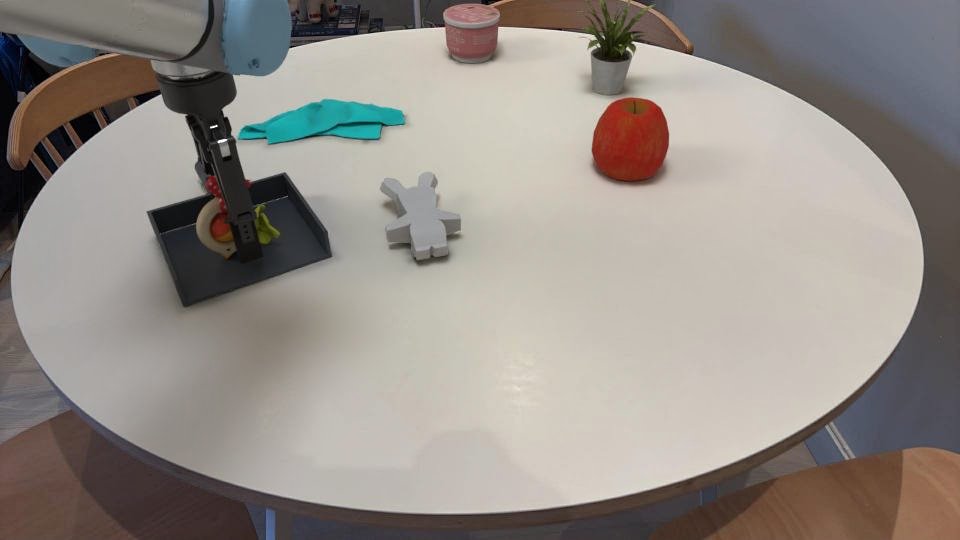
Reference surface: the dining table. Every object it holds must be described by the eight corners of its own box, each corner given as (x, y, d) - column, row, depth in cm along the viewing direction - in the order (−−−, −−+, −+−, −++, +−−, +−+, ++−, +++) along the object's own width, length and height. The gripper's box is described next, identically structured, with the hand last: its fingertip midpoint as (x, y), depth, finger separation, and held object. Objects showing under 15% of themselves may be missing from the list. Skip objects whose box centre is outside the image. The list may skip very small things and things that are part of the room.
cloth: (406, 100, 119) (405, 88, 118) (404, 140, 109) (403, 127, 107) (252, 104, 118) (249, 92, 117) (235, 145, 108) (231, 132, 106)
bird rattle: (245, 280, 86) (296, 227, 88) (189, 229, 77) (248, 171, 79) (218, 259, 89) (268, 208, 91) (162, 207, 80) (218, 152, 82)
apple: (643, 144, 108) (653, 79, 101) (677, 180, 100) (692, 113, 93) (578, 154, 105) (585, 89, 99) (608, 193, 97) (618, 124, 91)
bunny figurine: (392, 245, 82) (371, 167, 92) (394, 275, 85) (374, 197, 95) (470, 232, 84) (441, 157, 94) (469, 262, 87) (441, 187, 97)
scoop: (332, 256, 87) (327, 230, 84) (183, 307, 80) (173, 280, 77) (266, 160, 104) (260, 136, 102) (139, 195, 97) (130, 170, 95)
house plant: (545, 94, 121) (552, -1, 110) (577, 65, 130) (585, -26, 120) (624, 113, 116) (638, 14, 105) (651, 81, 125) (666, -12, 114)
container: (504, 63, 131) (505, 21, 126) (449, 68, 129) (447, 25, 124) (493, 42, 139) (493, 1, 134) (440, 46, 137) (439, 5, 132)
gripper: (259, 97, 67) (298, 276, 82) (203, 25, 81) (245, 188, 96) (178, 116, 64) (234, 298, 79) (135, 38, 78) (189, 204, 93)
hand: (240, 238), depth 87 cm, fingers open, 9 cm apart
